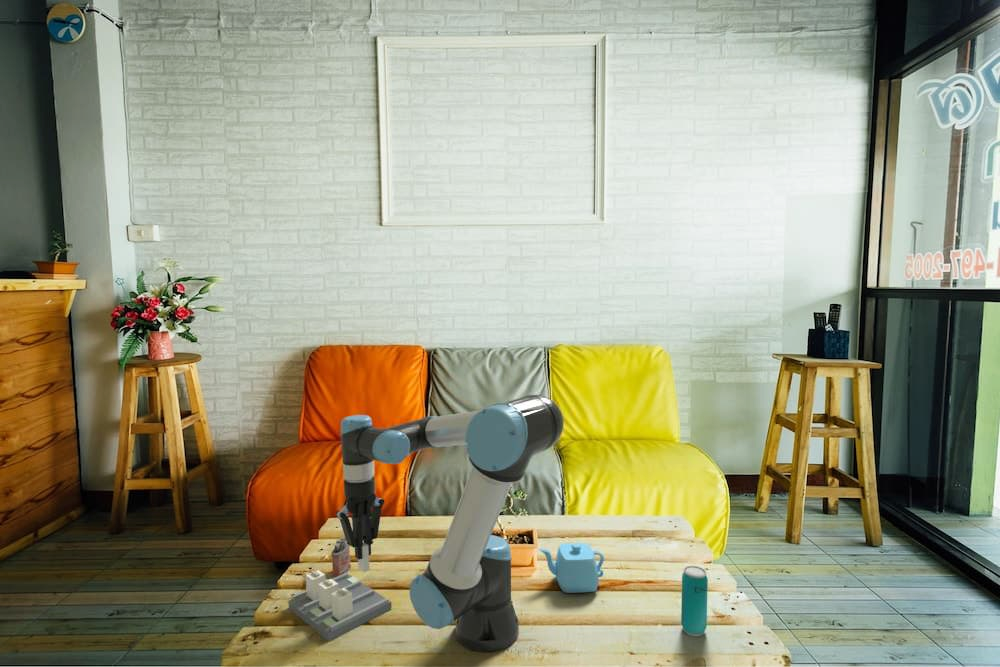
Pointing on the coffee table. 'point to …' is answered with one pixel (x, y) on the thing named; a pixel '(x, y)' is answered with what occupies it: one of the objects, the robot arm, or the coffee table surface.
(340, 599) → the white hollow block
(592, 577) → the teapot
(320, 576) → the white hollow block
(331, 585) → the white rectangular block
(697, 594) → the beverage can
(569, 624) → the coffee table surface
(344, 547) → the lighter
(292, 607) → the grey slotted block holder
